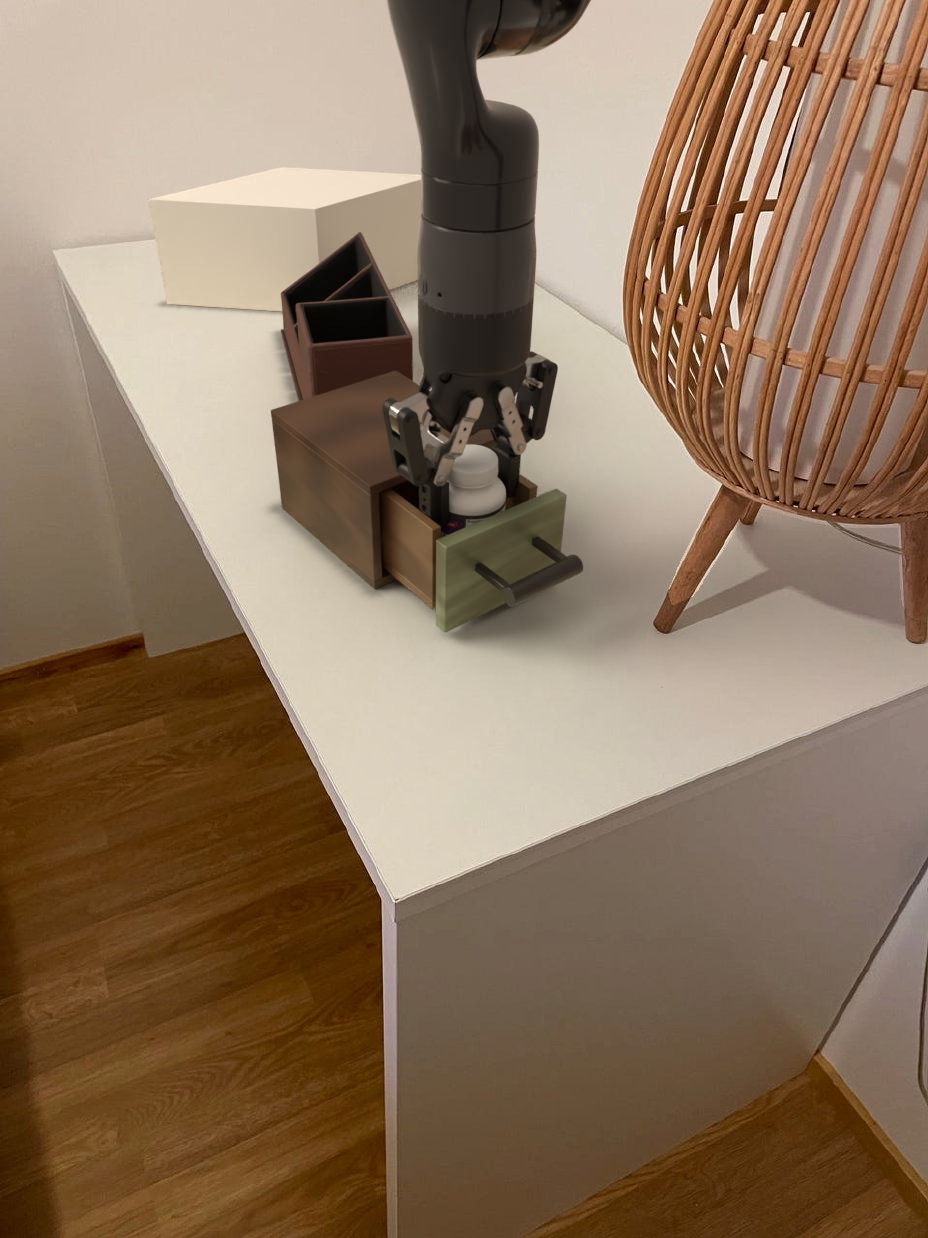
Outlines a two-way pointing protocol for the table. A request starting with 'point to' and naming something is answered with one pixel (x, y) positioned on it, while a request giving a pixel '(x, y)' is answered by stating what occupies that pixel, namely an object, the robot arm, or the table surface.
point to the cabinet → (344, 467)
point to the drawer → (476, 553)
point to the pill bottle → (474, 489)
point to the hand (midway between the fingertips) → (470, 506)
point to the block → (281, 232)
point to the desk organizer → (343, 324)
